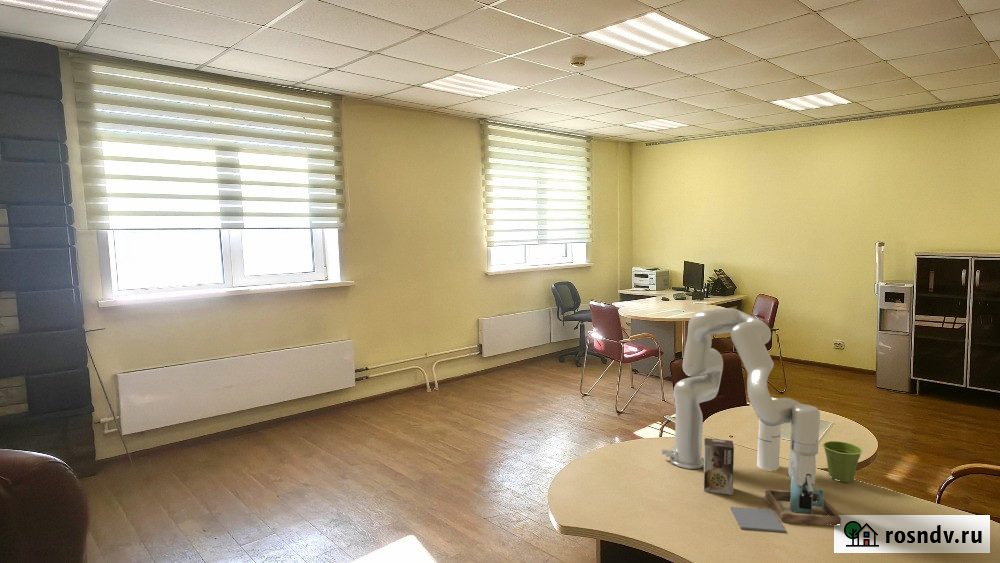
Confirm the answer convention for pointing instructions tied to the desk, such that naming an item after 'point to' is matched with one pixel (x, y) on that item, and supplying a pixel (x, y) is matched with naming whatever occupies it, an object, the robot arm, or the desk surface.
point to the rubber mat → (757, 519)
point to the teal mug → (795, 498)
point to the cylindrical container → (768, 446)
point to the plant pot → (842, 459)
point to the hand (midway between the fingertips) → (801, 502)
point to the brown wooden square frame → (797, 517)
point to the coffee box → (718, 466)
